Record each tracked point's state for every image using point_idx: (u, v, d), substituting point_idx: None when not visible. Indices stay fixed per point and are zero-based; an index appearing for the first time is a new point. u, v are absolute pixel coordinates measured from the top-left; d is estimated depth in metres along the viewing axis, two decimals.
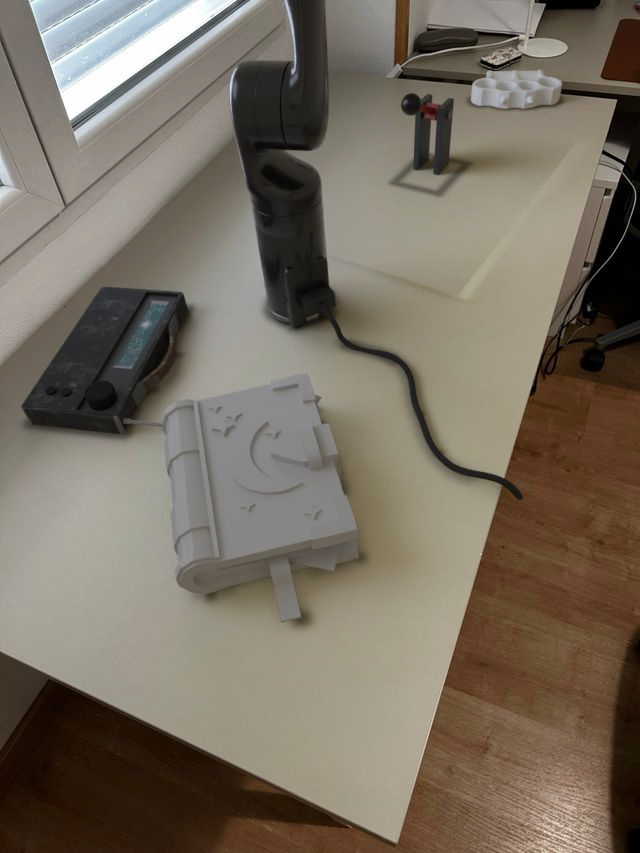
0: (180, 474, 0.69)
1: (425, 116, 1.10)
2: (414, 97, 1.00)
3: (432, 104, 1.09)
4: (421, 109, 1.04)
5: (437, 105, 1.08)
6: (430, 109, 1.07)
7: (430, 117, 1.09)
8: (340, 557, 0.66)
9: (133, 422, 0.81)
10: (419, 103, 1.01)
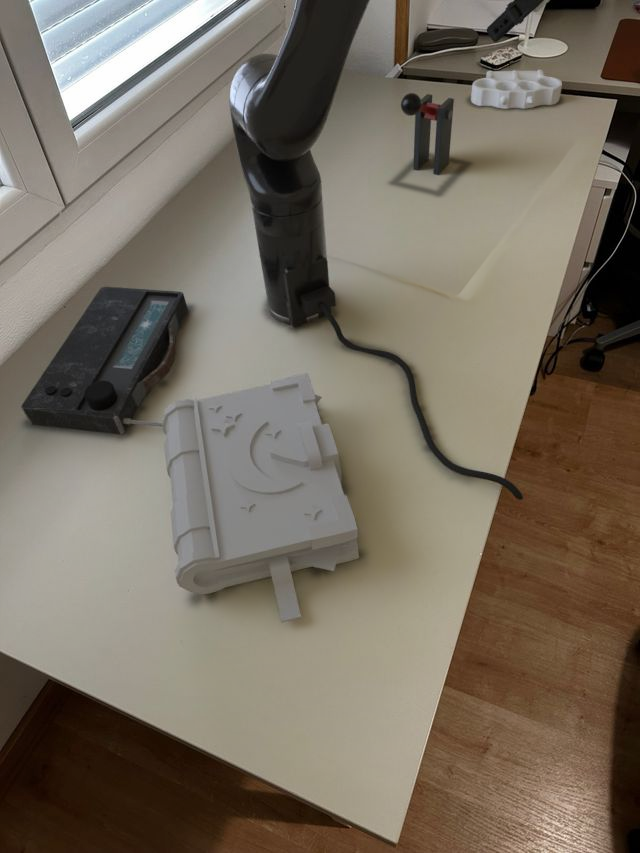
0: (180, 474, 0.69)
1: (425, 116, 1.10)
2: (414, 97, 1.00)
3: (432, 104, 1.09)
4: (421, 109, 1.04)
5: (437, 105, 1.08)
6: (430, 109, 1.07)
7: (430, 117, 1.09)
8: (340, 557, 0.66)
9: (133, 422, 0.81)
10: (419, 103, 1.01)
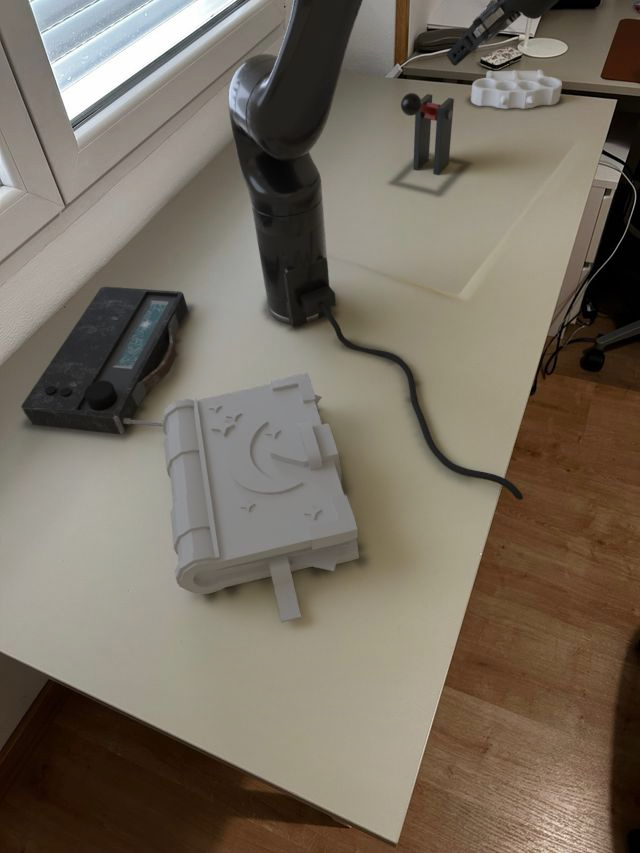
0: (180, 474, 0.69)
1: (425, 116, 1.10)
2: (414, 97, 1.00)
3: (432, 104, 1.09)
4: (421, 109, 1.04)
5: (437, 105, 1.08)
6: (430, 109, 1.07)
7: (430, 117, 1.09)
8: (340, 557, 0.66)
9: (133, 422, 0.81)
10: (419, 103, 1.01)
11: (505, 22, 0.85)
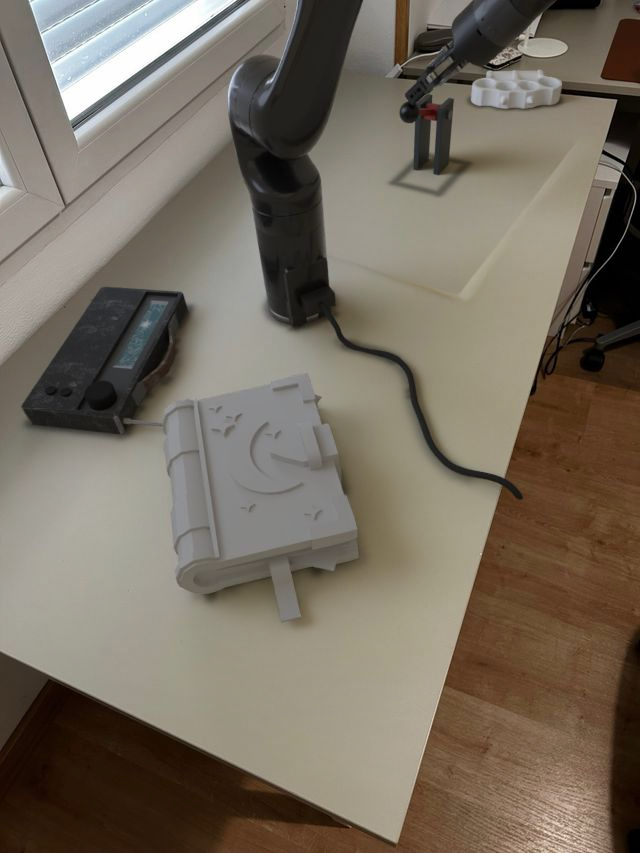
0: (180, 474, 0.69)
1: (425, 117, 1.10)
2: (412, 106, 1.01)
3: (432, 105, 1.09)
4: (420, 114, 1.05)
5: (437, 106, 1.08)
6: (429, 111, 1.07)
7: (430, 118, 1.09)
8: (340, 557, 0.66)
9: (133, 422, 0.81)
10: (417, 111, 1.01)
11: (455, 69, 0.92)
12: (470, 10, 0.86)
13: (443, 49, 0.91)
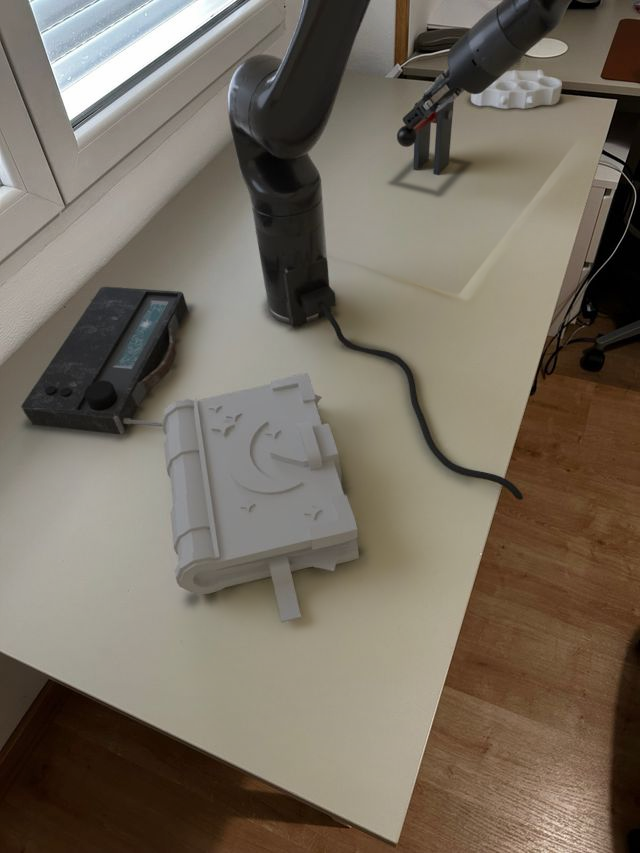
0: (180, 474, 0.69)
1: None
2: (408, 133, 1.03)
3: None
4: (418, 130, 1.06)
5: None
6: (428, 119, 1.08)
7: (430, 121, 1.10)
8: (340, 557, 0.66)
9: (133, 422, 0.81)
10: (414, 136, 1.04)
11: (451, 96, 0.95)
12: (465, 41, 0.88)
13: (439, 77, 0.94)
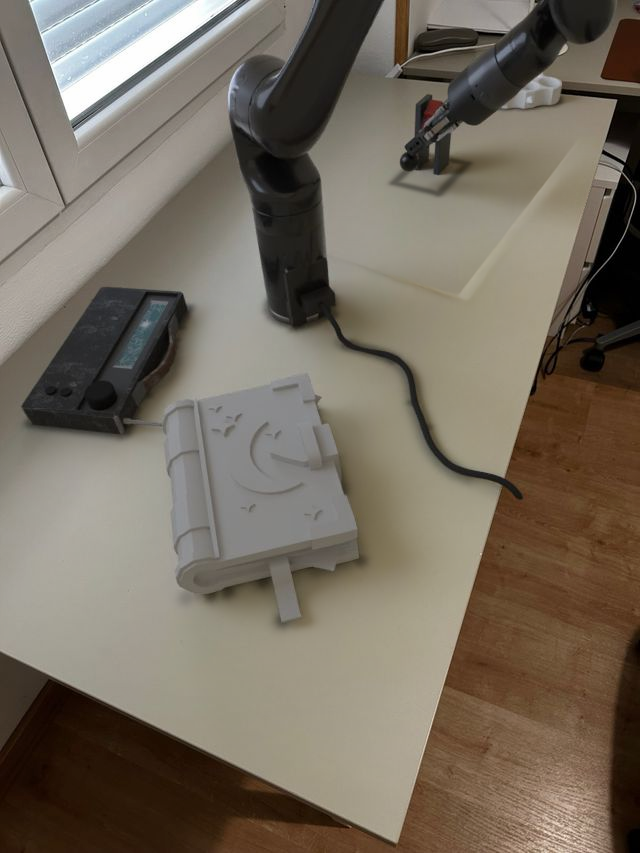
0: (180, 474, 0.69)
1: None
2: (409, 163, 1.08)
3: (429, 114, 1.09)
4: None
5: None
6: None
7: None
8: (340, 557, 0.66)
9: (133, 422, 0.81)
10: (416, 163, 1.08)
11: (451, 127, 0.99)
12: (465, 76, 0.92)
13: (440, 109, 0.98)
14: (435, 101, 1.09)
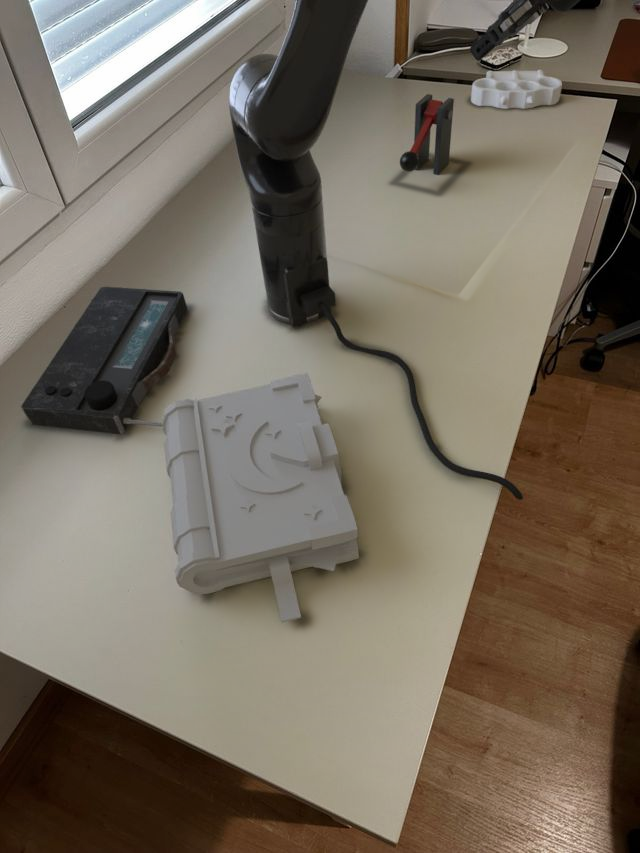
0: (180, 474, 0.69)
1: None
2: (409, 163, 1.08)
3: (429, 114, 1.09)
4: (420, 147, 1.09)
5: (434, 115, 1.09)
6: (429, 127, 1.09)
7: None
8: (340, 557, 0.66)
9: (133, 422, 0.81)
10: (416, 163, 1.08)
11: (532, 15, 0.83)
12: None
13: None
14: (435, 101, 1.09)
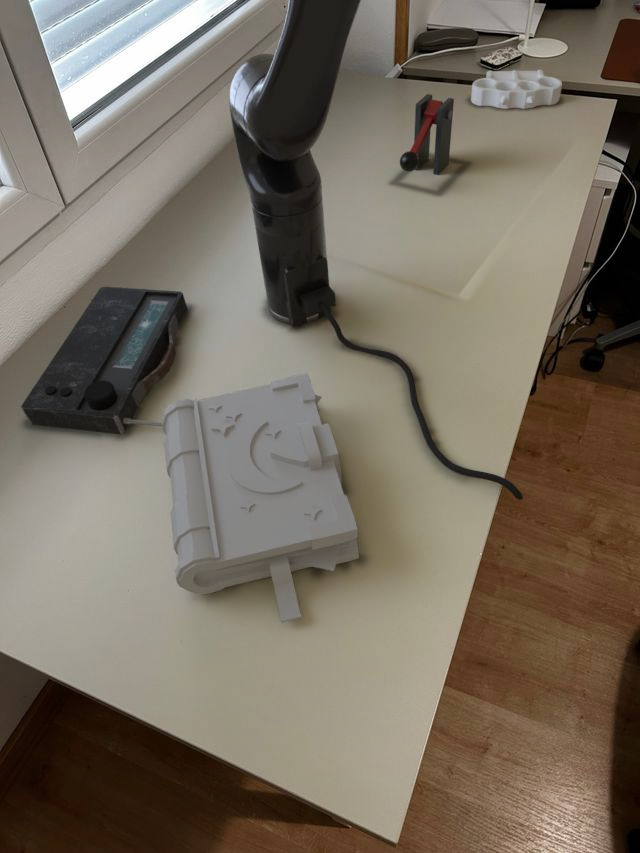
0: (180, 474, 0.69)
1: None
2: (409, 163, 1.08)
3: (429, 114, 1.09)
4: (420, 147, 1.09)
5: (434, 115, 1.09)
6: (429, 127, 1.09)
7: None
8: (340, 557, 0.66)
9: (133, 422, 0.81)
10: (416, 163, 1.08)
11: None
12: None
13: None
14: (435, 101, 1.09)
